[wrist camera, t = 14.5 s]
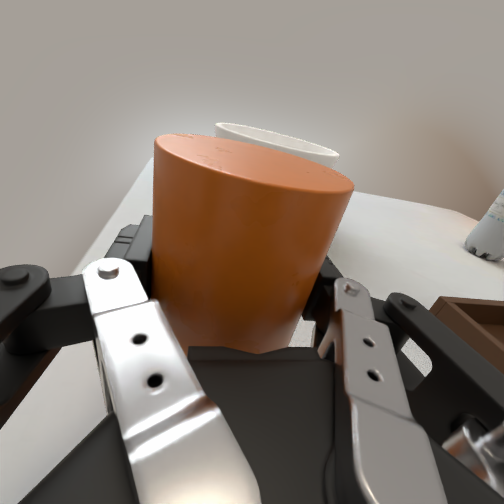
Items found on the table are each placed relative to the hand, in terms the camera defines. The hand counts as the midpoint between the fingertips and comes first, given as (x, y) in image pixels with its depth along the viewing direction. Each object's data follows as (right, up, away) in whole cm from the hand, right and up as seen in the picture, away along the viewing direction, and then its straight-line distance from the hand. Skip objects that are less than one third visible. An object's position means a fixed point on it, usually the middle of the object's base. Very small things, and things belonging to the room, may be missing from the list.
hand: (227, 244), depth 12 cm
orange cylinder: (-1, -8, +2) cm, 8 cm away
